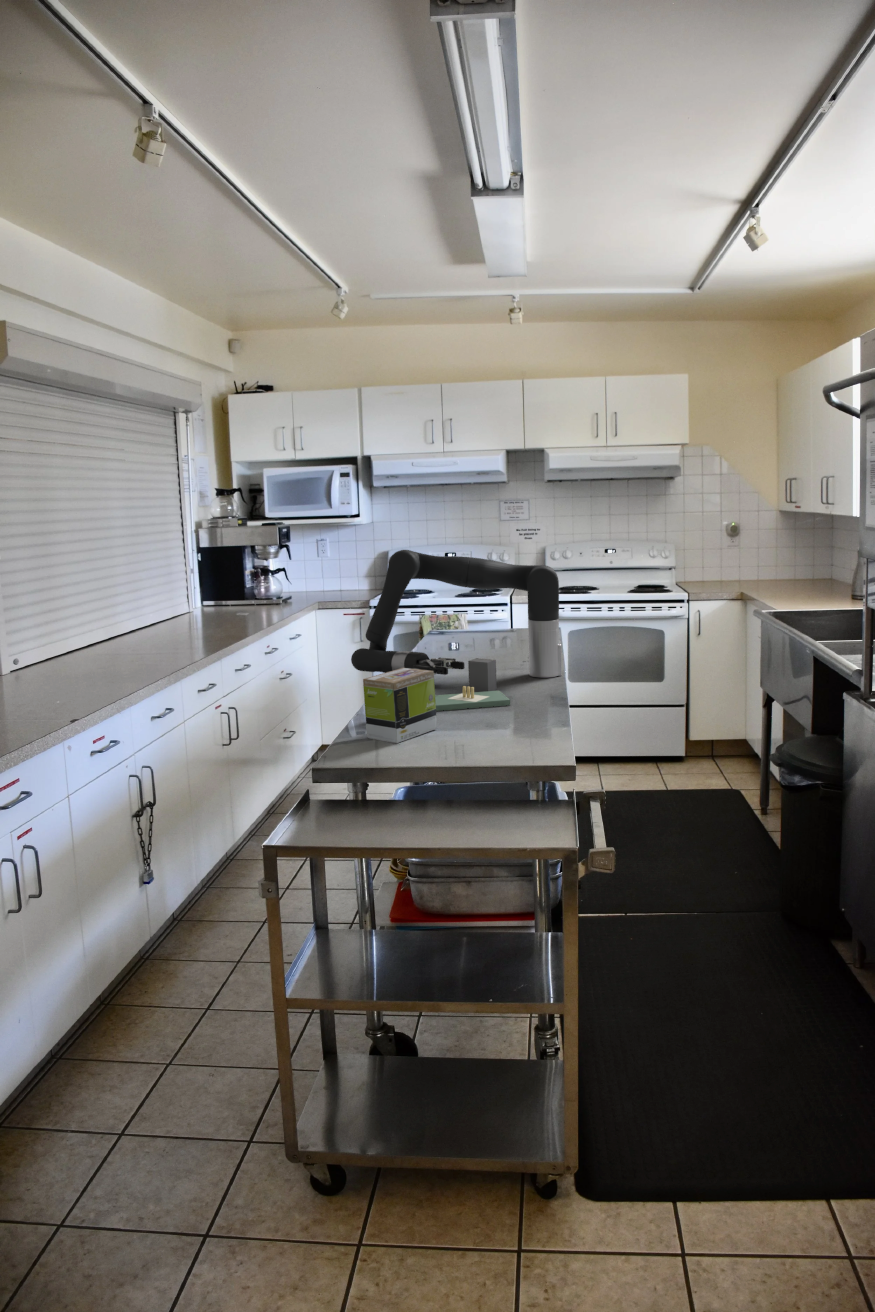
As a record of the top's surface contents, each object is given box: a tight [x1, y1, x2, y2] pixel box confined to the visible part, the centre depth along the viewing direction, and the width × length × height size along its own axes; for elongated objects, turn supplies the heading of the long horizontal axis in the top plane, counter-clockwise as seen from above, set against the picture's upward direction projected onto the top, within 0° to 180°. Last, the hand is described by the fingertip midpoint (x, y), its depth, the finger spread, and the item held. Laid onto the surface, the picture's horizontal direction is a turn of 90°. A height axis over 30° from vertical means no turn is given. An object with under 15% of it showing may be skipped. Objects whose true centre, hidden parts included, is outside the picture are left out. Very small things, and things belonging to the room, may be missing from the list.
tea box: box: [362, 668, 438, 744], centre depth 224 cm, size 15×10×15 cm, turn 141°
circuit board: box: [435, 685, 511, 712], centre depth 253 cm, size 20×12×4 cm, turn 100°
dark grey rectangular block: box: [467, 657, 498, 693], centre depth 267 cm, size 6×4×9 cm
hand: (455, 668), depth 272 cm, fingers open, 8 cm apart
